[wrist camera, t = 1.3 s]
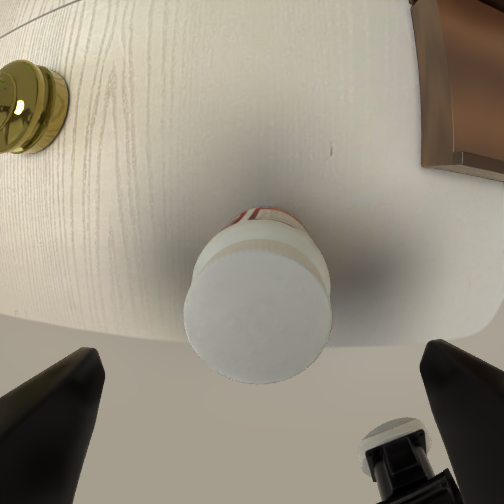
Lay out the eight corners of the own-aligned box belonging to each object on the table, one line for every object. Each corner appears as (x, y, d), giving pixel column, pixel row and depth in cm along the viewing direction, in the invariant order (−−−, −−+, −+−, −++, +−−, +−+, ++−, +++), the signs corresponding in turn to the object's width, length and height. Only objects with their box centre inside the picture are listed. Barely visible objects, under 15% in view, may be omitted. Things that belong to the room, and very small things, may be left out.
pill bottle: (231, 301, 22) (195, 404, 11) (210, 216, 21) (145, 255, 10) (318, 285, 22) (353, 381, 11) (302, 196, 21) (333, 217, 10)
